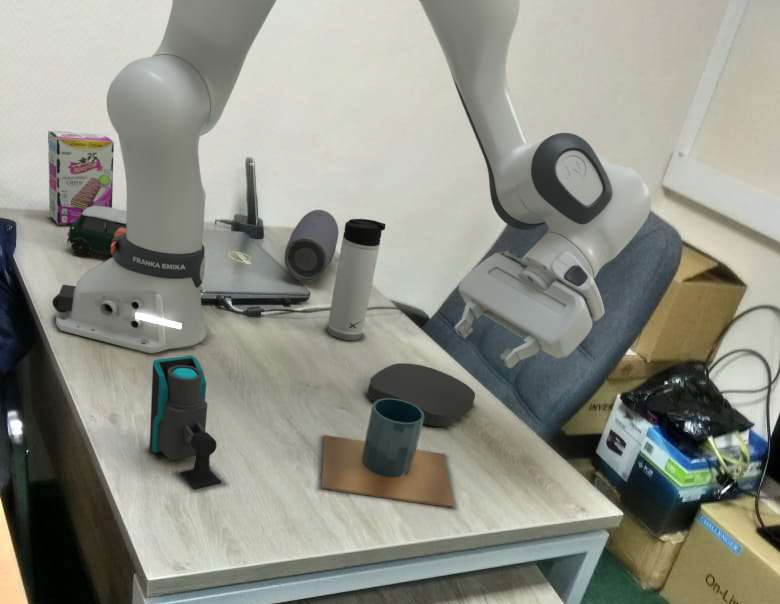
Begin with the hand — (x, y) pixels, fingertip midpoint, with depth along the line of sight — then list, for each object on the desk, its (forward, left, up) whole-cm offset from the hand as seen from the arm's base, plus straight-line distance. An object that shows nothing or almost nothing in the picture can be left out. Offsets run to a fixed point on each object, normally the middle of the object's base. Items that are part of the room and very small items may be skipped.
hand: (481, 348), depth 107 cm
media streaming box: (-4, +14, -16) cm, 22 cm away
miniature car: (-58, +55, -16) cm, 82 cm away
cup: (-10, -7, -16) cm, 20 cm away
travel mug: (-16, +36, -16) cm, 43 cm away
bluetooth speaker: (-23, +68, -16) cm, 73 cm away
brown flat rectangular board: (-10, -9, -16) cm, 21 cm away
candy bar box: (-70, +70, -16) cm, 100 cm away
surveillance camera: (-35, -14, -16) cm, 41 cm away
